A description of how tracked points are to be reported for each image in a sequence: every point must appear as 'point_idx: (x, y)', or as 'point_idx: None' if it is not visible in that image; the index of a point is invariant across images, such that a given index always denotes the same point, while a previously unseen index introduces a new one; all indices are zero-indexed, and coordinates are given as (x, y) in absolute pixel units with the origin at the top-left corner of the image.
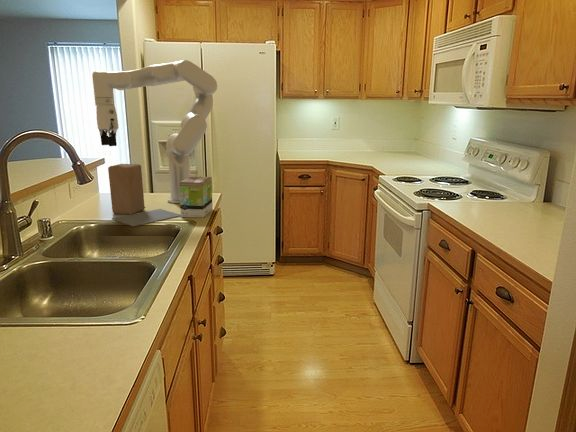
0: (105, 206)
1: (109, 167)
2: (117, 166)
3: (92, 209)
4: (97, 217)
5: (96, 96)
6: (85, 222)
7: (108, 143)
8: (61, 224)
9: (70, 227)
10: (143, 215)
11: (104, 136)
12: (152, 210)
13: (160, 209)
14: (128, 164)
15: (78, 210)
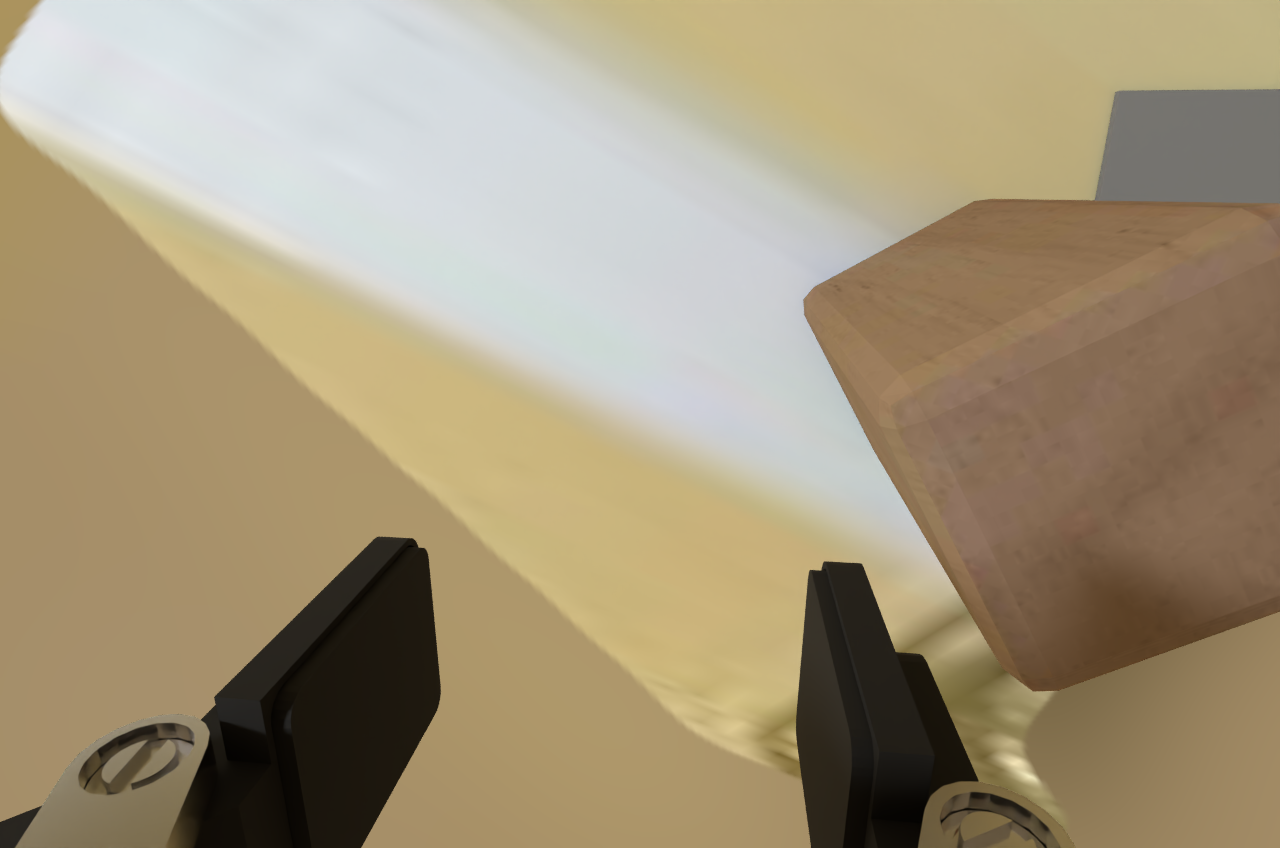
0: (585, 359)
1: (1058, 689)
2: (1180, 631)
3: (612, 475)
4: (886, 571)
5: None
6: (948, 679)
7: (412, 570)
8: None
9: (984, 779)
10: None
11: (320, 824)
12: (1107, 184)
13: (1147, 105)
14: (1134, 395)
15: (567, 551)
